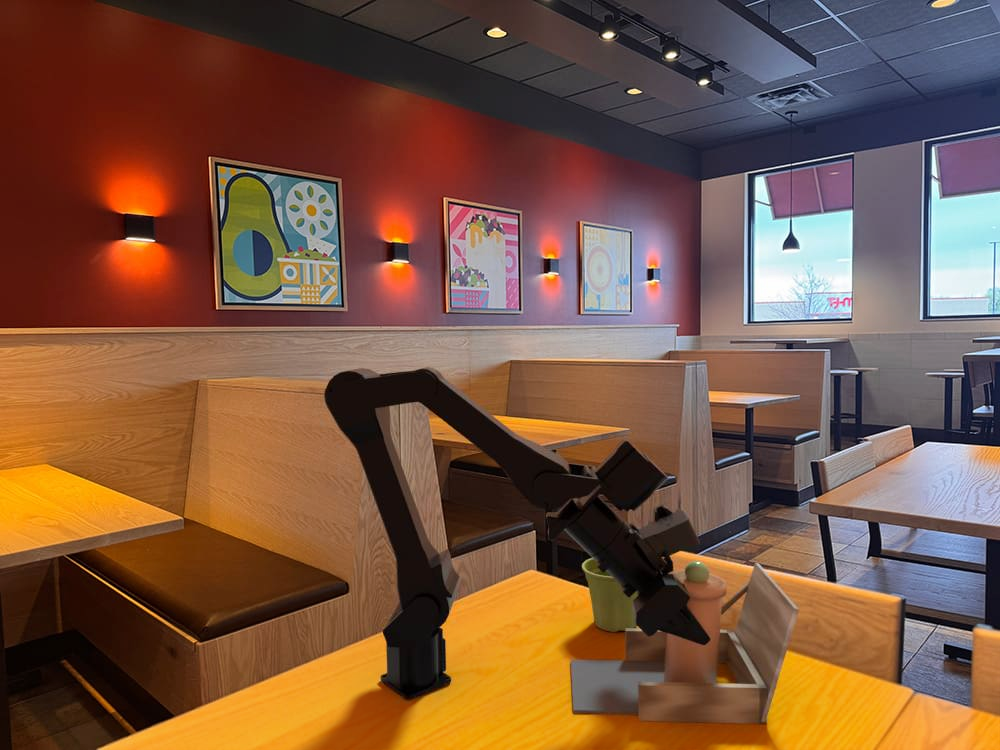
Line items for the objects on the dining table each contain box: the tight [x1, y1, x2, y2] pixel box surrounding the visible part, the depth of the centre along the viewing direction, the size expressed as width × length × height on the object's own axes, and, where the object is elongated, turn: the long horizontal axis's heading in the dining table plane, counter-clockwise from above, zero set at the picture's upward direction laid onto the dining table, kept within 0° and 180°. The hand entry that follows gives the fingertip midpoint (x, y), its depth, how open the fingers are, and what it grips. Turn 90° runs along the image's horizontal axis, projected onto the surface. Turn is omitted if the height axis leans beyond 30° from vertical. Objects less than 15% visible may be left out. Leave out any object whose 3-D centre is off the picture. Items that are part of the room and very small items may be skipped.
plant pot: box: [581, 557, 638, 633], centre depth 102 cm, size 9×9×9 cm
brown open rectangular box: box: [624, 562, 799, 725], centre depth 83 cm, size 17×15×13 cm
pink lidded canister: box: [664, 560, 728, 683], centre depth 83 cm, size 7×7×15 cm
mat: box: [570, 659, 665, 715], centre depth 84 cm, size 12×12×1 cm
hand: (701, 630), depth 83 cm, fingers closed on pink lidded canister, 6 cm apart
